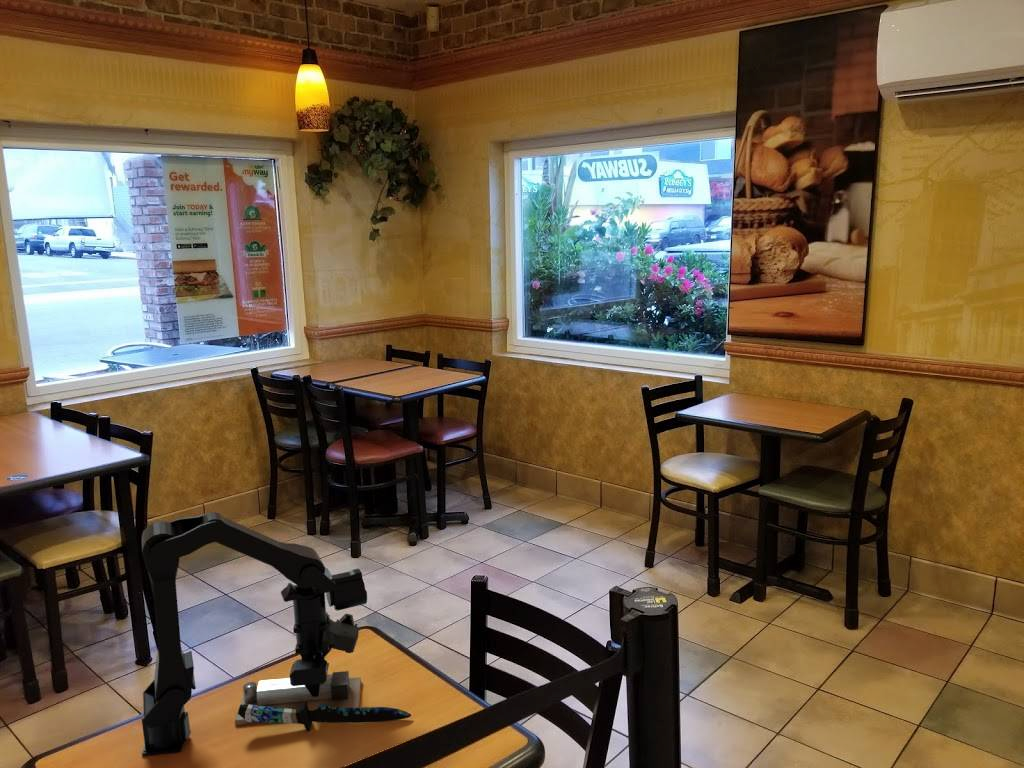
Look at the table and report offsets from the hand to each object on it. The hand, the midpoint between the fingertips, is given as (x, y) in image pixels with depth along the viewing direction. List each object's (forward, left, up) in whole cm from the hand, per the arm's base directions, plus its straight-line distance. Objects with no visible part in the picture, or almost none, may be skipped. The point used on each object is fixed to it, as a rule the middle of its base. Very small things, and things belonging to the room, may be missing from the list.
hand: (316, 690), depth 146 cm
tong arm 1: (-2, -1, -1) cm, 3 cm away
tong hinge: (-12, 0, -1) cm, 12 cm away
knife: (+2, -8, -2) cm, 9 cm away
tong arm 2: (-2, +1, -1) cm, 3 cm away
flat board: (-3, 0, -2) cm, 4 cm away
